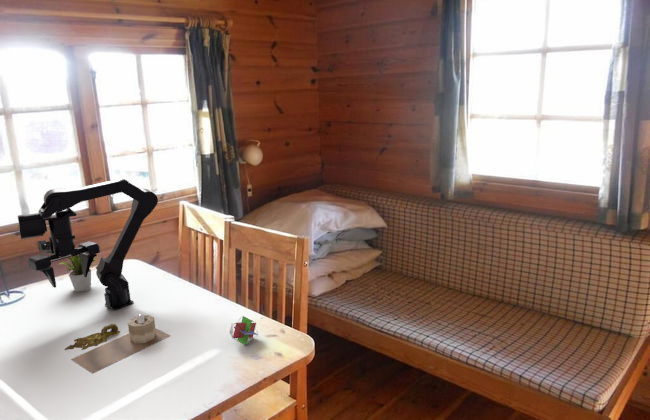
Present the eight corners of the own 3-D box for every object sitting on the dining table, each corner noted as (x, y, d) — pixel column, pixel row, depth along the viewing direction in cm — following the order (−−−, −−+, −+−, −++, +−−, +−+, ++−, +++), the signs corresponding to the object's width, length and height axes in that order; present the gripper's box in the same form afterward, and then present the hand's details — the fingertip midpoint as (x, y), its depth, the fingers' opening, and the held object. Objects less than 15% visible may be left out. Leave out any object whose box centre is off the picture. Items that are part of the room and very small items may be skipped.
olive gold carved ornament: (69, 366, 127) (127, 344, 136) (66, 350, 125) (125, 329, 135) (58, 349, 133) (114, 329, 143) (55, 334, 131) (112, 315, 141)
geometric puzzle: (253, 322, 138) (236, 307, 134) (268, 330, 134) (252, 315, 129) (237, 344, 136) (220, 330, 131) (252, 353, 131) (235, 338, 126)
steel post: (144, 335, 136) (141, 312, 134) (148, 337, 135) (144, 314, 133) (138, 337, 134) (135, 314, 133) (142, 339, 133) (138, 316, 132)
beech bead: (146, 329, 139) (144, 313, 137) (160, 335, 135) (157, 319, 134) (126, 339, 134) (124, 322, 133) (139, 345, 130) (137, 328, 129)
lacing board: (148, 328, 142) (148, 324, 142) (171, 339, 135) (171, 335, 135) (71, 363, 125) (70, 359, 125) (93, 377, 119) (92, 373, 118)
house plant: (92, 298, 164) (85, 251, 160) (51, 299, 164) (42, 252, 160) (111, 281, 178) (104, 237, 174) (73, 282, 178) (65, 239, 174)
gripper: (79, 221, 157) (87, 267, 161) (15, 236, 143) (25, 286, 147) (97, 226, 150) (105, 274, 154) (32, 242, 136) (42, 295, 140)
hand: (70, 282), depth 149 cm, fingers open, 9 cm apart
